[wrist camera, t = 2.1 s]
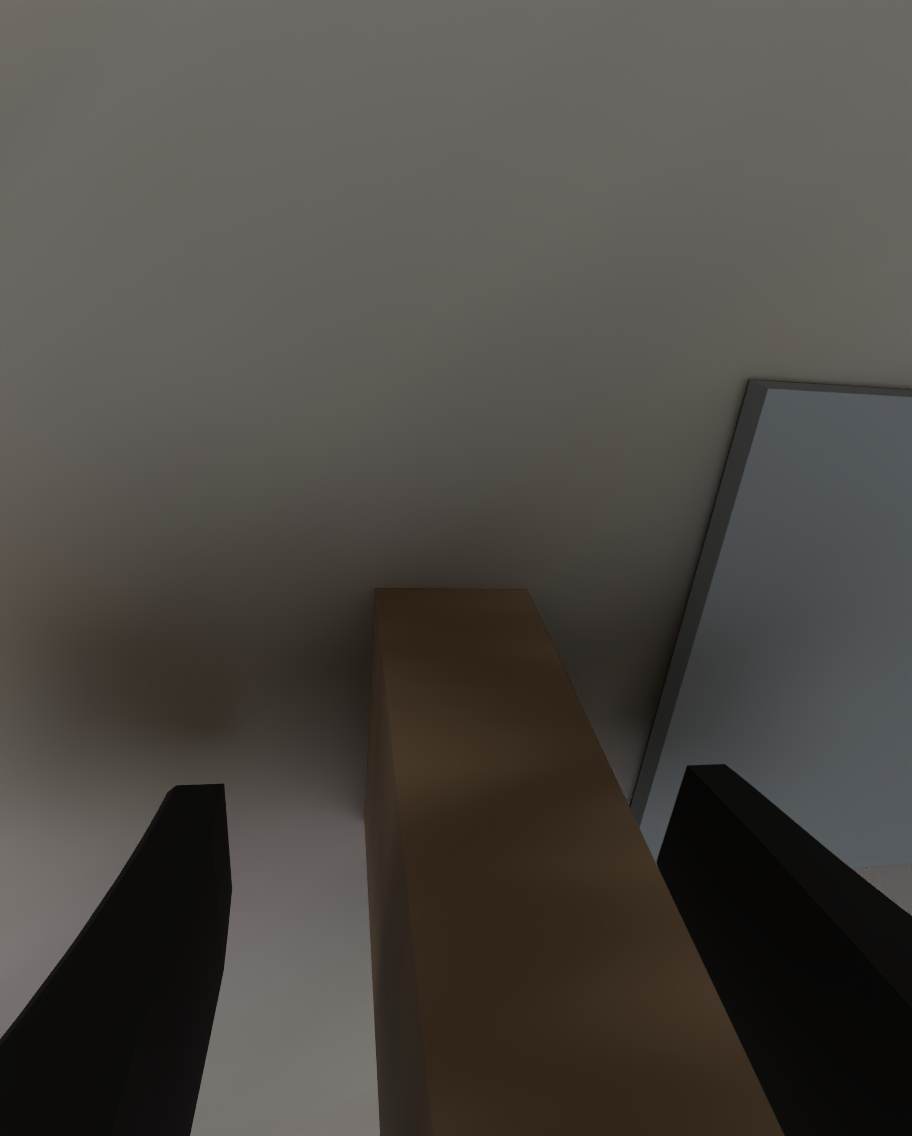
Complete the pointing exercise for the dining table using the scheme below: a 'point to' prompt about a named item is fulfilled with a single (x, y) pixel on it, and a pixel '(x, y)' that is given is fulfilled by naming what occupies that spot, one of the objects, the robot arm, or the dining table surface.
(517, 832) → the tall wooden plank
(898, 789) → the rubber mat
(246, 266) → the dining table surface
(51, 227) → the dining table surface
